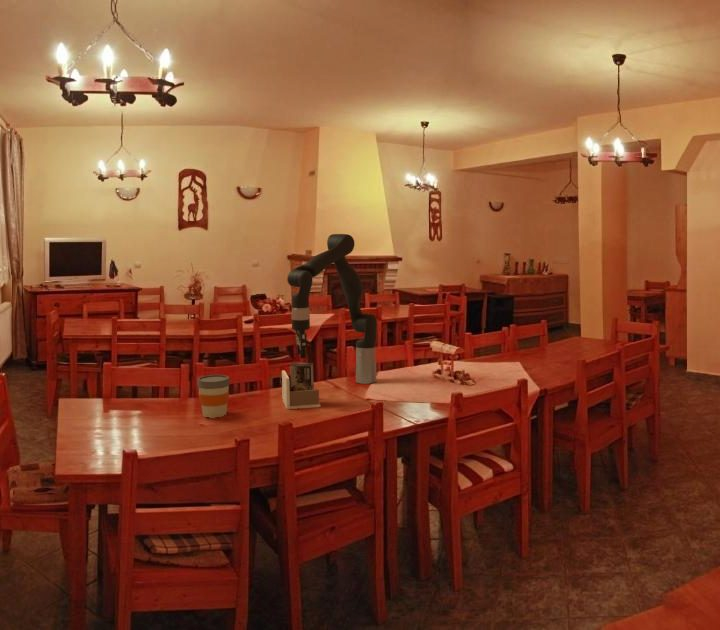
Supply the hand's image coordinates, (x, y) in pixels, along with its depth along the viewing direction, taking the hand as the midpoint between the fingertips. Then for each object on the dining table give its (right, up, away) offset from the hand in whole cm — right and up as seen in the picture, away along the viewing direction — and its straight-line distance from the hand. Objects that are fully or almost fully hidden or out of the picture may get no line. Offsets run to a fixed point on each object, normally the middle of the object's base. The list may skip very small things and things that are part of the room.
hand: (301, 356), depth 268 cm
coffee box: (0, -19, +3) cm, 20 cm away
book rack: (0, -20, +3) cm, 20 cm away
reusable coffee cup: (-33, -23, -13) cm, 43 cm away
